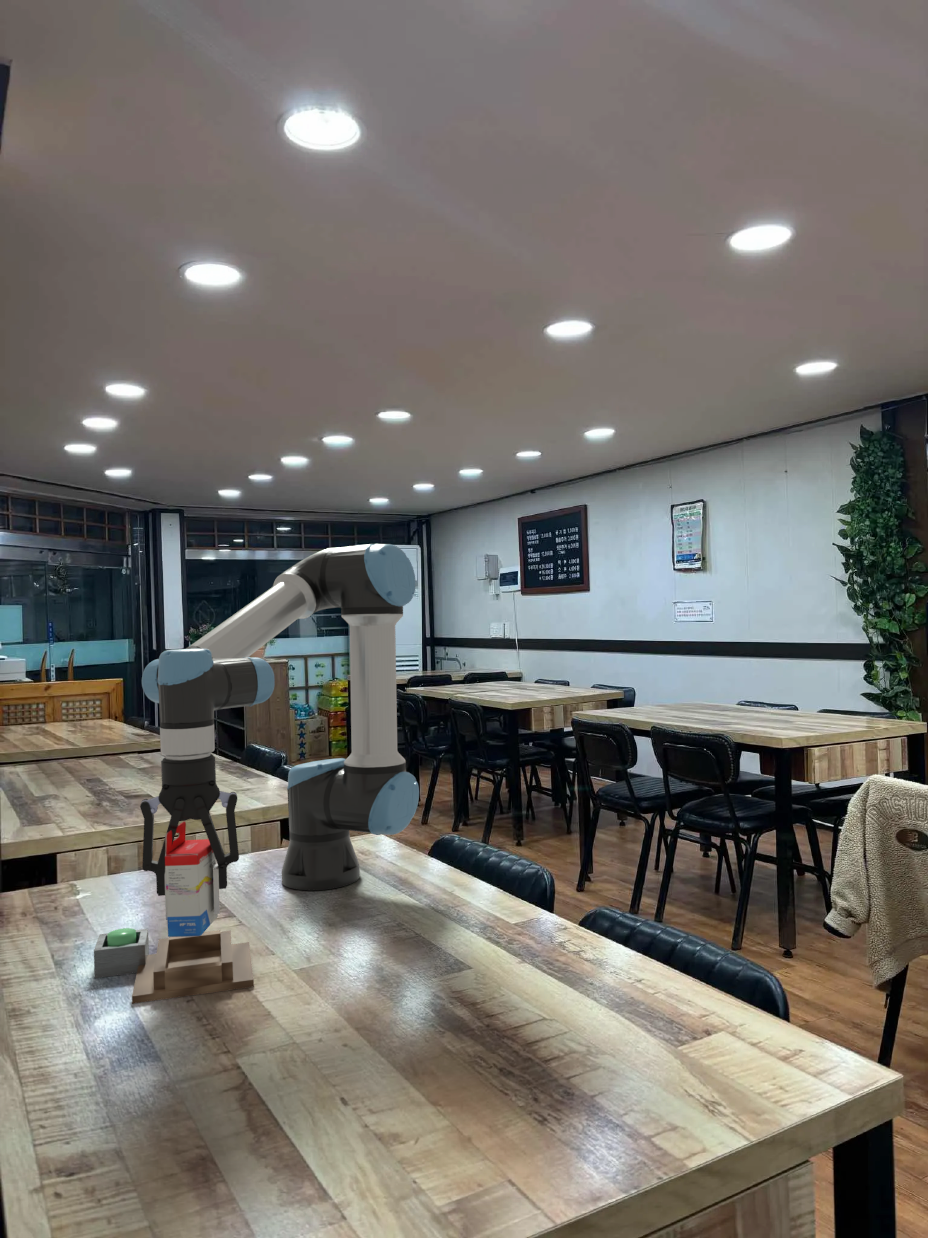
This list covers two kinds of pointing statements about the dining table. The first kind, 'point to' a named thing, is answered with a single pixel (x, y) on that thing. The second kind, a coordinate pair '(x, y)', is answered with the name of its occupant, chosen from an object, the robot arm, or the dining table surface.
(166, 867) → the ink box
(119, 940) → the button
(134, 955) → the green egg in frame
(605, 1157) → the dining table surface
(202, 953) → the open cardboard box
